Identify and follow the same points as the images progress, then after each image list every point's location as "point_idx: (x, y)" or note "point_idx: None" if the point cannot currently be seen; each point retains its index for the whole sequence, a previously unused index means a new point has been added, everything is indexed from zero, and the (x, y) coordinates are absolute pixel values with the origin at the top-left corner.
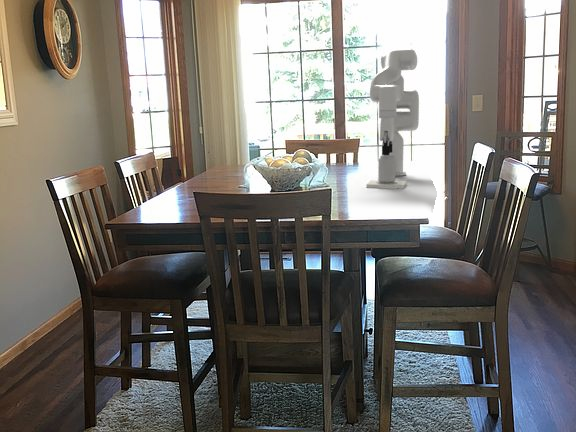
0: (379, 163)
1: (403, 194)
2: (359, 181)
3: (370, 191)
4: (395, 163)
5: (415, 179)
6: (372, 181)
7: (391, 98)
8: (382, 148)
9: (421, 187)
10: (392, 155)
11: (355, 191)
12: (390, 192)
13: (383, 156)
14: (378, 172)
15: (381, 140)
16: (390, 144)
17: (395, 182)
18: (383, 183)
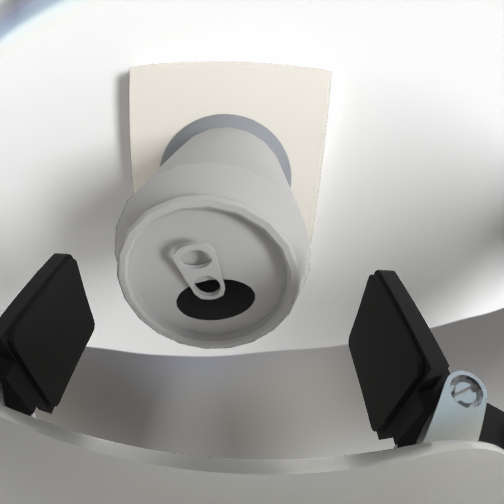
0: (159, 169)
1: (18, 271)
2: (417, 15)
3: (29, 128)
4: (209, 308)
5: (456, 292)
6: (278, 81)
7: None
8: (13, 311)
9: None
10: (266, 333)
11: (19, 61)
12: (33, 221)
13: (120, 250)
14: (200, 138)
15: (107, 441)
16: (381, 417)
17: None
18: None
